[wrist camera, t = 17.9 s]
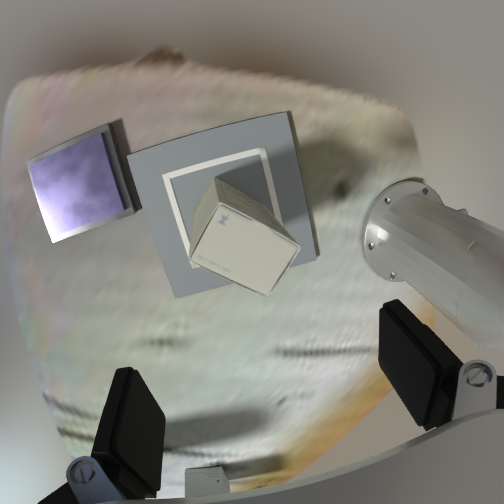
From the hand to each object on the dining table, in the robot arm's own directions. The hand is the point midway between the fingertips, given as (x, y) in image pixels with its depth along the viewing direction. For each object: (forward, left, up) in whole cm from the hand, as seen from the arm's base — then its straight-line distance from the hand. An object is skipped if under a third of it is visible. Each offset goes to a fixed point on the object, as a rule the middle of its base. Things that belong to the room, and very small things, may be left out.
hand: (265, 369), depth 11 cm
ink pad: (+14, -8, -23) cm, 28 cm away
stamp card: (0, -1, -22) cm, 22 cm away
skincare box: (0, -1, -22) cm, 22 cm away
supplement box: (+18, +47, -23) cm, 55 cm away
